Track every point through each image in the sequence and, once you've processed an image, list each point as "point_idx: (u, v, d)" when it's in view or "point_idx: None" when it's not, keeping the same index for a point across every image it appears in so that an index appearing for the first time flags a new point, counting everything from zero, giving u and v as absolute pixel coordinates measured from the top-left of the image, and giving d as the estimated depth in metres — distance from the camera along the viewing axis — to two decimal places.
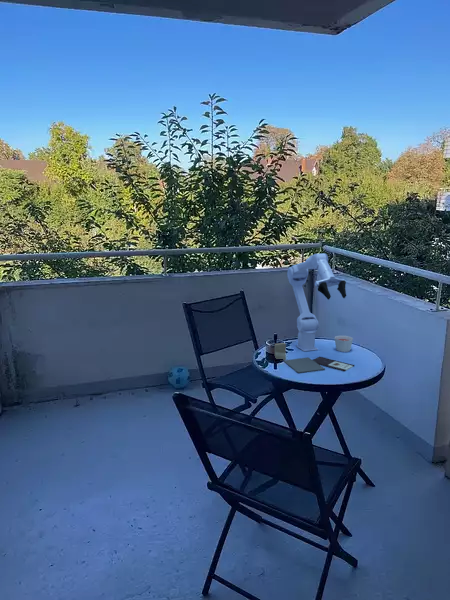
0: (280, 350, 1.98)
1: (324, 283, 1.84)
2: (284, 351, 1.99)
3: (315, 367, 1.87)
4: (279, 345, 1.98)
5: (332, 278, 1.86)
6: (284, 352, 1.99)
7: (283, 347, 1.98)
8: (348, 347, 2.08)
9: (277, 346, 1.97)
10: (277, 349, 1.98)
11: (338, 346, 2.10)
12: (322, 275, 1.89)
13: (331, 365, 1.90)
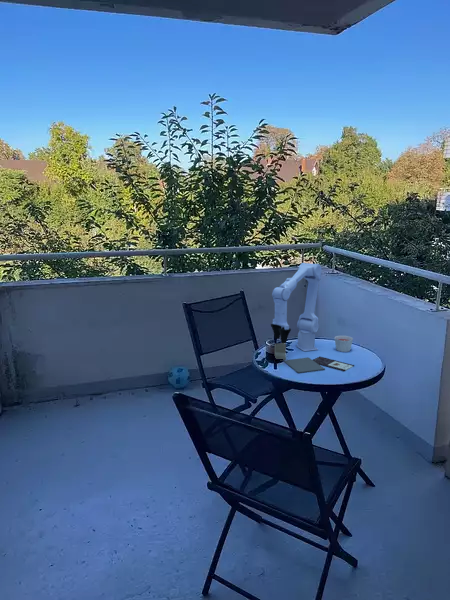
0: (280, 350, 1.98)
1: (271, 326, 2.01)
2: (284, 351, 1.99)
3: (315, 367, 1.87)
4: (279, 345, 1.98)
5: None
6: (284, 352, 1.99)
7: (283, 347, 1.98)
8: (348, 347, 2.08)
9: (277, 346, 1.97)
10: (277, 349, 1.98)
11: (338, 346, 2.10)
12: None
13: (331, 365, 1.90)
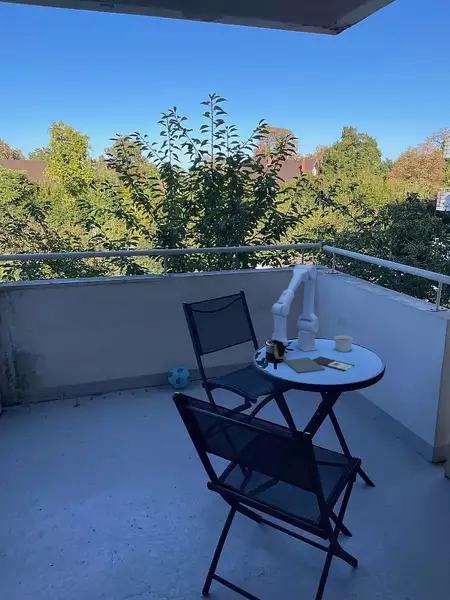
0: None
1: (273, 342, 2.00)
2: None
3: (315, 367, 1.87)
4: None
5: None
6: (284, 352, 1.99)
7: None
8: (348, 347, 2.08)
9: None
10: (277, 349, 1.98)
11: (338, 346, 2.10)
12: None
13: (331, 365, 1.90)
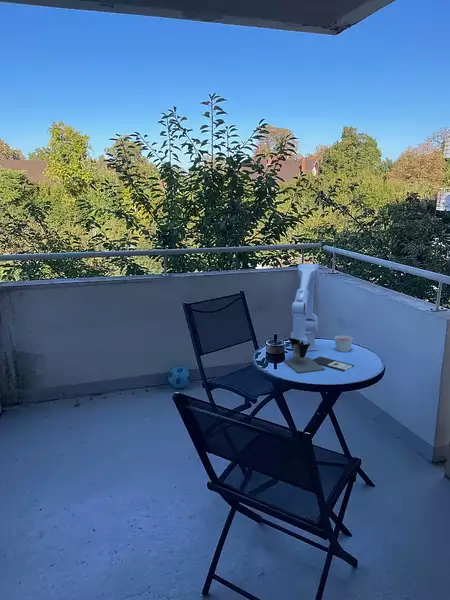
0: None
1: (289, 339, 1.98)
2: None
3: (315, 367, 1.87)
4: None
5: None
6: None
7: None
8: (348, 347, 2.08)
9: (296, 347, 1.93)
10: (296, 350, 1.94)
11: (338, 346, 2.10)
12: None
13: (330, 365, 1.90)
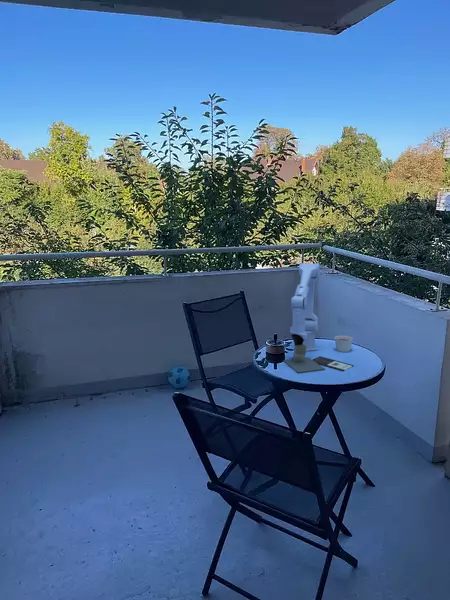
0: (300, 352, 1.93)
1: (292, 336, 1.95)
2: (303, 353, 1.94)
3: (315, 367, 1.87)
4: (300, 347, 1.92)
5: None
6: (304, 354, 1.94)
7: (303, 349, 1.93)
8: (348, 347, 2.08)
9: (297, 348, 1.92)
10: (297, 351, 1.93)
11: (338, 346, 2.10)
12: None
13: (330, 365, 1.90)
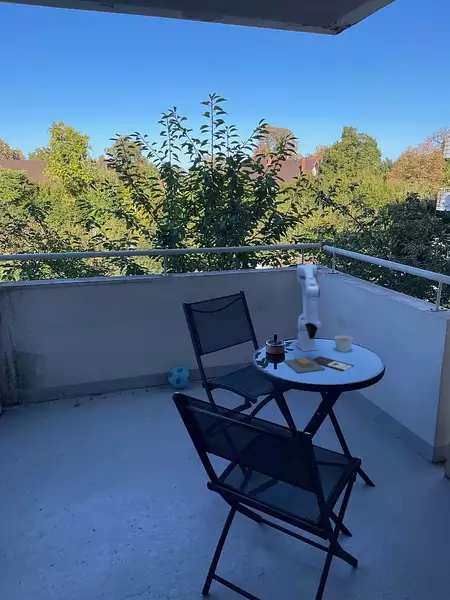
0: None
1: (305, 325, 1.99)
2: None
3: (315, 367, 1.87)
4: None
5: None
6: None
7: None
8: (348, 347, 2.08)
9: None
10: None
11: (338, 346, 2.10)
12: None
13: (330, 365, 1.90)
